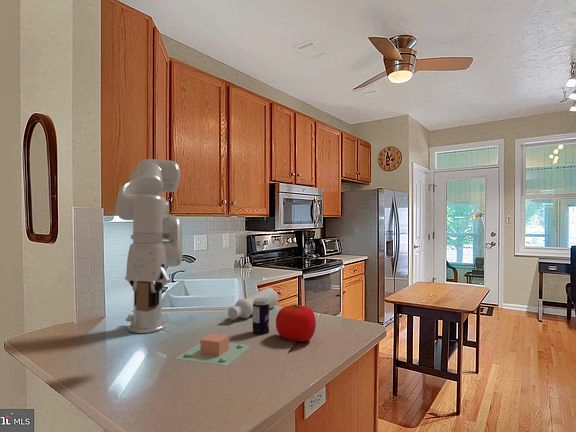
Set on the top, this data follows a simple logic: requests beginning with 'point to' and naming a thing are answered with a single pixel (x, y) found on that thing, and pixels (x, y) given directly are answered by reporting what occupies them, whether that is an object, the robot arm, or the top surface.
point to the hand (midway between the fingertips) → (146, 304)
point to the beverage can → (261, 316)
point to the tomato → (296, 323)
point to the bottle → (246, 305)
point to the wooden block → (143, 296)
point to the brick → (214, 344)
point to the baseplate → (223, 359)
